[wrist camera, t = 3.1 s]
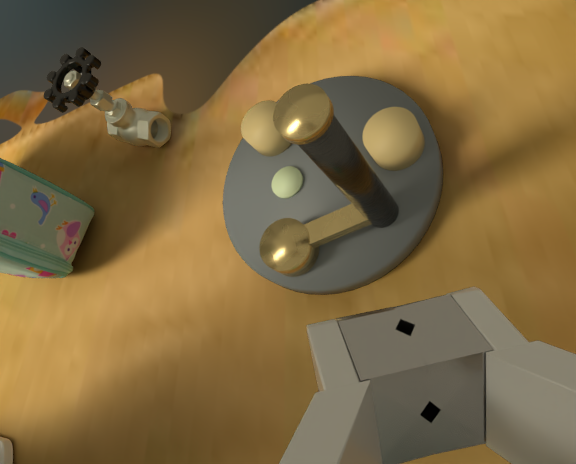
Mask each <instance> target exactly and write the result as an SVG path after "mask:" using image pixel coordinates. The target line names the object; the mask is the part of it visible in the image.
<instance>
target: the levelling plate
mask: <svg viewBox="0 0 576 464" xmlns="http://www.w3.org/2000/svg"><path fill="white" fill-rule="evenodd" d="M310 84H314V85H317V86H319V87H321V88H322V89H323V90H324V91H325V93H326V94H327V96H328V97H329V99H330V100H331V102H332V104H333V108H334V116H335V117H336V118H337V120H338V121H339V123H340V124H341V125H342V127H343V128H344V130H345V131H346V132H347V134H348V135H349V137H350V138H351V139H352V141H353V142H354V144H355V145H356V147H357V148H358V149H359V151H360V152H361V154H362V155H363V156H364V158H365V159H366V161H367V162H368V163H369V165H370V166H371V168H372V169H373V170H374V172H375V173H376V175H377V176H378V177H379V179H380V180H381V182H382V183H383V185H384V186H385V187H386V189H387V190H388V192H389V193H390V194H391V196H392V197H393V199H394V200H395V201H396V203H397V205H398V207H399V214H398V217H397V219H396V220H395V222H394V223H393V224H391V225H390V226H388V227H385V228H377V227H374V226H372V225H368V226H366V227H363V228H361V229H359V230H356V231H354V232H351V233H349V234H347V235H344V236H342V237H340V238H337V239H335V240H332V241H330V242H328V243H325V244H323V245H320V246H319V255H318V258H317V261H316V263H315V264H314V266H313V267H312V268H311V269H310V270H309V271H308V272H306V273H305V274H303V275H301V276H297V277H288V276H285V275H282V274H281V273H279V272H277V271H275V270H273V269H271V268H270V267H268V266H267V265H266V264H265V263H264V262H263V260H262V258H261V255H260V250H259V246H260V240H261V237H262V235H263V233H264V232H265V230H266V229H267V228H268V227H269V226H270V225H271V224H272V223H273V222H275V221H277V220H279V219H283V218H293V219H296V220H298V221H299V222H301V223H302V224H303V225H304V224H306V223H309V222H311V221H313V220H315V219H318V218H320V217H322V216H325V215H327V214H329V213H331V212H334V211H336V210H338V209H340V208H343V207H345V206H347V205H350V204H352V203H351V202H350V201H349V200H348V199H347V198H346V197H345V196H344V195H343V193H342V192H341V191H340V190H339V189H338V188H337V187H336V186H335V185H334V184H333V183H332V181H331V180H330V179H329V178H328V177H327V176H326V175H325V174H324V173H323V172H322V171H321V169H320V168H319V167H318V166H317V165H316V164H315V163H314V162H313V161H312V160H311V159H310V157H309V156H308V155H307V154H306V153H305V152H304V151H303V150H302V149H301V148H300V147H299V145H297V144H292V143H290V142H288V141H287V140H286V139H285V138H284V137H283V136H282V135H281V134H280V133H279V132H278V131H277V130H276V128H275V126H274V122H273V113H274V109H275V107H276V104H277V103H278V101H279V100H278V101H277V102H274V101H262V102H260V103H257V104H256V105H254V106H253V107H252V108H250V109H249V111H248V112H247V113H246V114H245V116H244V118H243V120H242V124H241V133H242V136H243V139H242V140H241V142H240V144H239V146H238V147H237V149H236V151H235V153H234V155H233V158H232V160H231V163H230V165H229V169H228V172H227V175H226V180H225V185H224V193H223V211H224V219H225V224H226V228H227V231H228V234H229V237H230V239H231V241H232V243H233V245H234V247H235V249H236V251H237V252H238V254H239V255H240V256H241V258H242V259H243V260H244V261H245V262H246V263H247V264H248V265H249V266H250V267H251V268H252V269H253V270H254V271H256V272H257V273H258V274H260V275H261V276H263V277H265V278H266V279H268V280H270V281H272V282H274V283H276V284H278V285H280V286H282V287H284V288H287V289H290V290H293V291H296V292H301V293H306V294H316V295H327V294H337V293H342V292H346V291H351V290H354V289H357V288H360V287H362V286H365V285H368V284H370V283H371V282H373V281H375V280H377V279H379V278H381V277H383V276H384V275H385V274H387V273H388V272H390V271H391V270H393V269H394V268H395V267H397V266H398V265H399V264H400V263H401V262H402V261H403V260H404V259H405V258H406V257H408V255H409V254H410V253H411V252H412V251H413V250H414V248H415V247H416V246H417V245H418V244H419V242H420V241H421V239H422V238H423V236H424V235H425V233H426V232H427V230H428V228H429V226H430V224H431V222H432V220H433V218H434V216H435V213H436V210H437V207H438V204H439V201H440V196H441V191H442V185H443V165H442V156H441V152H440V149H439V145H438V142H437V140H436V137H435V135H434V132H433V130H432V128H431V125H430V123H429V121H428V119H427V117H426V116H425V114H424V113H423V111H422V110H421V108H420V107H419V106H418V105H417V104H416V103H415V102H414V101H413V100H412V99H411V98H410V97H409V96H408V95H406V94H405V93H404V92H403V91H401V90H399V89H398V88H396V87H394V86H392V85H391V84H388V83H385V82H383V81H380V80H377V79H372V78H368V77H359V76H340V77H333V78H327V79H323V80H320V81H316V82H313V83H310Z"/></svg>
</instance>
